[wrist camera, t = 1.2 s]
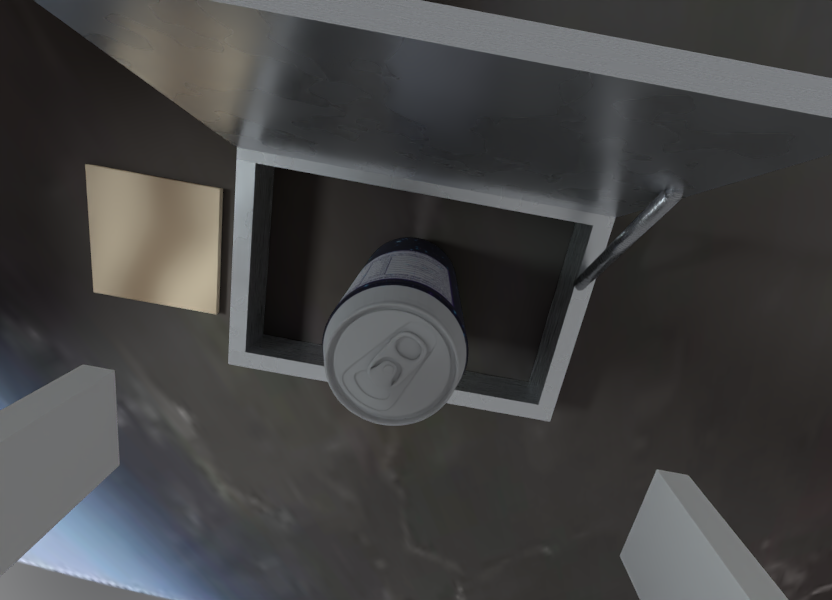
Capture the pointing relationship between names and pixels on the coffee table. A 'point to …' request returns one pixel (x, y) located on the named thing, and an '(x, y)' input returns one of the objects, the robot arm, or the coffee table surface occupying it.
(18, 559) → the robot arm
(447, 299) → the beverage can
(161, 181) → the pad
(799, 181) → the coffee table surface
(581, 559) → the coffee table surface
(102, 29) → the case
